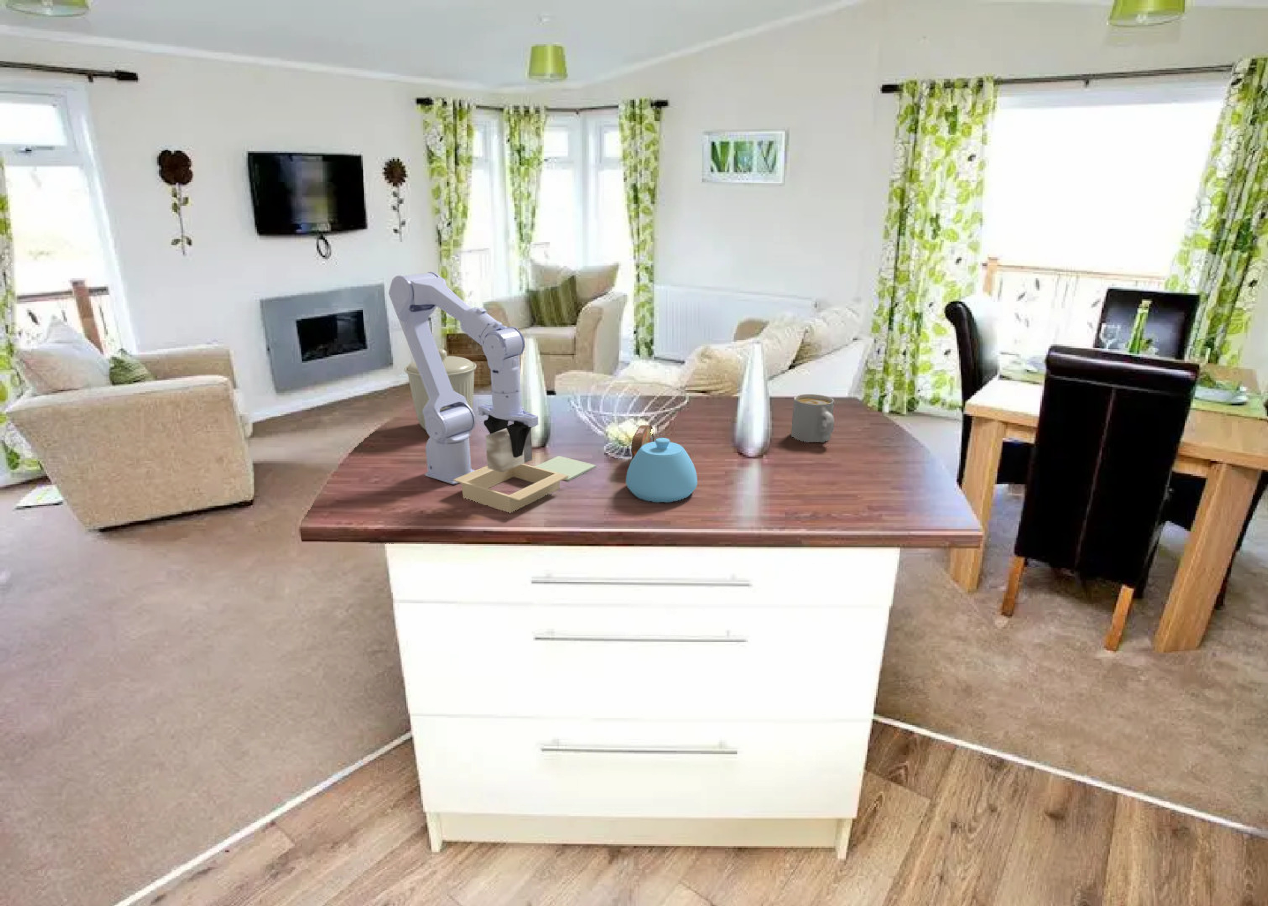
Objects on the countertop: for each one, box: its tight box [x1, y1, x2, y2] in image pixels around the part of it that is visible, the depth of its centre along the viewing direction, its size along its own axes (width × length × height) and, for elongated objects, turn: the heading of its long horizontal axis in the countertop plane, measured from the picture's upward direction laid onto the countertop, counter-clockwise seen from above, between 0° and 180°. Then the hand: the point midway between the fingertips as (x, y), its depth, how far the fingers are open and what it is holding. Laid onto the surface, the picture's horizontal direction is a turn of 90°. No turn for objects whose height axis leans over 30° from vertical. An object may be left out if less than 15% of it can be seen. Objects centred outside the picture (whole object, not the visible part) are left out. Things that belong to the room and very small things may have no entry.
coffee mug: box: [790, 393, 835, 443], centre depth 186 cm, size 13×10×10 cm
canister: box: [404, 348, 477, 431], centre depth 191 cm, size 18×18×21 cm
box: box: [485, 428, 533, 472], centre depth 150 cm, size 4×9×7 cm, turn 146°
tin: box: [630, 424, 655, 460], centre depth 169 cm, size 15×3×8 cm, turn 168°
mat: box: [534, 455, 597, 482], centre depth 167 cm, size 11×10×1 cm
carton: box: [453, 463, 569, 514], centre depth 153 cm, size 18×15×4 cm
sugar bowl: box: [625, 437, 698, 503], centre depth 153 cm, size 15×15×12 cm
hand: (509, 453), depth 151 cm, fingers closed on box, 4 cm apart
